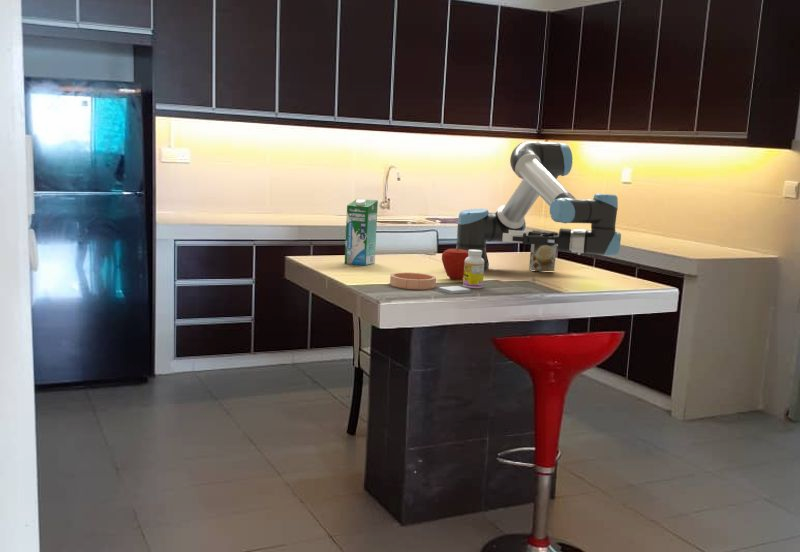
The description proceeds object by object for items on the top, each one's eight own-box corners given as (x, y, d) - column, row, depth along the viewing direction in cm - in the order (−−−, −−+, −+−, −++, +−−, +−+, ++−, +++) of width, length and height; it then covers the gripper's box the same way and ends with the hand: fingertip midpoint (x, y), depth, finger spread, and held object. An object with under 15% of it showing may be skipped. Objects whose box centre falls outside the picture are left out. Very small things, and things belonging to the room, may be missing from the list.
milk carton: (344, 263, 301) (347, 199, 297) (354, 260, 310) (357, 198, 306) (365, 265, 298) (368, 200, 294) (374, 263, 306) (378, 200, 302)
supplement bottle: (461, 285, 264) (463, 248, 262) (480, 286, 264) (483, 249, 262) (464, 289, 257) (467, 251, 255) (484, 290, 258) (486, 252, 256)
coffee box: (531, 272, 306) (535, 231, 304) (528, 269, 312) (531, 230, 310) (554, 273, 306) (558, 233, 304) (551, 270, 313) (554, 231, 310)
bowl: (420, 282, 266) (421, 272, 266) (443, 290, 253) (444, 279, 253) (382, 283, 259) (382, 273, 258) (404, 291, 246) (404, 280, 246)
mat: (461, 289, 256) (462, 288, 256) (477, 294, 248) (477, 293, 248) (431, 291, 250) (431, 289, 250) (445, 296, 242) (446, 294, 242)
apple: (435, 277, 278) (437, 244, 276) (461, 277, 282) (464, 244, 280) (449, 283, 268) (451, 248, 266) (476, 282, 272) (478, 248, 270)
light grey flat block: (457, 288, 254) (457, 285, 254) (470, 292, 249) (470, 289, 249) (438, 290, 249) (438, 287, 249) (451, 293, 244) (451, 290, 244)
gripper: (567, 256, 238) (499, 250, 244) (572, 248, 262) (510, 243, 268) (569, 232, 237) (500, 226, 243) (574, 226, 261) (511, 222, 267)
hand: (505, 235), depth 255 cm, fingers open, 13 cm apart
